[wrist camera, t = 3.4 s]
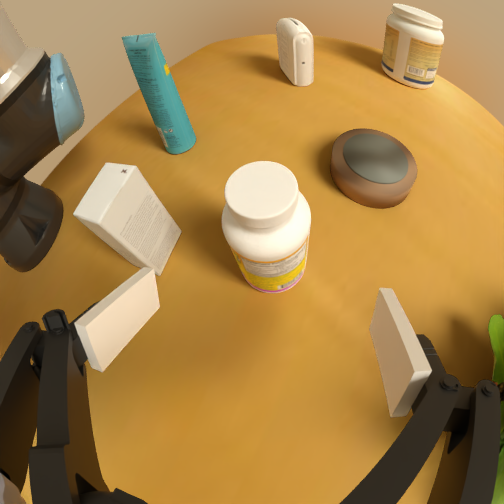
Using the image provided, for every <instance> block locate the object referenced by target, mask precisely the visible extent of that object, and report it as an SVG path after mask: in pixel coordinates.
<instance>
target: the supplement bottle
mask: <svg viewBox="0 0 504 504" xmlns="http://www.w3.org/2000/svg"><path fill="white" fill-rule="evenodd" d="M225 200H226V202H227V203H226V205H225V207H224V210H223V213H222V229H223V233H224V235H225V238H226V240H227V242H228V244H229V246H230V248H231V251H232V253H233V255H234V257H235V259H236V261H237V263H238V266H239V268H240V270H241V272H242V274H243V276H244V278H245V279H246V281H247V282H248V283H249V284H250V285H251V286H252V287H254V288H255V289H257V290H259V291H262V292H265V293H279V292H283V291H286V290H288V289H290V288H292V287H293V286H294V285H295V284H296V283H297V282H298V281H299V280H300V279H301V277H302V275H303V273H304V270H305V266H306V258H307V250H308V241H309V232H310V225H311V213H310V208H309V205H308V203H307V201H306V199H305V198H304V196H303V195H302V194H301V193H300V192H299V191H298V184H297V180H296V178H295V176H294V175H293V173H292V172H291V171H290V170H289V169H288V168H286V167H285V166H283V165H281V164H278V163H276V162H270V161H258V162H253V163H249V164H246V165H244V166H242V167H240V168H239V169H237V170H236V171H235V172H234V173H233V174H232V175H231V176H230V177H229V179H228V181H227V183H226V186H225Z"/></svg>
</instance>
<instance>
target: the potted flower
mask: <svg viewBox="0 0 504 504" xmlns="http://www.w3.org/2000/svg"><path fill="white" fill-rule="evenodd" d="M488 331H489V337H490V341H491V347H492V350H493V354H494V367H493V375H492V381H495V384H496V385H497V387H498V388H499V392H500V408H501V431H500V450H499V461H498V469H497V477H496V483H495V489H494V494H493V499H492V503H491V504H504V319H503V318H502V316H501V315H500V314H499V315H494V316H492V317H491V319H490V322H489V326H488Z"/></svg>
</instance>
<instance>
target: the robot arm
mask: <svg viewBox="0 0 504 504" xmlns="http://www.w3.org/2000/svg"><path fill="white" fill-rule="evenodd" d="M83 122H84V110H83V106H82V102H81V99H80V96H79V93H78V90H77V87H76V84H75V81H74V79H73V76H72V73H71V71H70V68H69V66H68V63H67V61H66V59H65V58H64V56H63V54H62V53H57V54H53V55H52V56H51V58H49V57H48V56H47V54H46V52H45V51H44V49H43V48H28V47H27V46H26V45H25V44H24V42H23V40H22V39H21V37H20V36H19V34H18V32H17V31H16V29H15V28H14V25H13V24H12V22H11V20H10V19H9V17H8V15H7V13H6V12H5V10H4V8H3V6H2V4H1V2H0V254H1V255H2V256H3V257H4V260H5V261H6V263H7V264H8V265H9V266H10V267H12V268H14V269H15V270H17V271H19V272H26V271H29V270H31V269H32V268H34V267H35V266H36V265H37V264H38V263H39V262H40V261H41V260H42V259H43V258H44V256H45V255H46V254H47V252H48V251H49V249H50V247H51V246H52V244H53V242H54V240H55V238H56V236H57V233H58V231H59V228H60V225H61V221H62V216H63V204H62V201H61V199H60V198H59V197H58V196H57V195H56V194H55V193H54V192H53V191H52V190H50V189H47V188H44V187H42V186H40V185H38V184H35V183H33V182H31V181H28V180H27V179H25V178H24V177H23V176H24V175H25V174H26V173H27V172H28V171H29V170H30V169H31V168H33V167H34V166H35V165H36V164H37V163H38V162H39V161H40V160H42V159H43V158H44V157H45V156H46V155H48V154H49V153H50V152H51V151H53V150H54V149H55V148H56V147H57V146H59V145H62V144H63V143H64V141H65V140H66V139H68V138H69V137H70V136H71V135H72V134H74V133H75V132H76V131H77V130H79V129H80V128H81V126H82V124H83ZM159 308H160V304H159V298H158V292H157V285H156V279H155V271H154V268H147V267H143V268H142V269H141V270H139V271H138V272H137V273H135V274H134V275H133V276H132V277H130V278H129V279H128V280H126V281H125V282H124V283H123V284H121V285H120V286H119V287H117V288H116V289H115V290H114V291H112V292H111V293H110V294H109V295H107V296H106V297H105V298H104V299H102V300H101V301H99V302H97V303H95V304H93V305H92V306H90V307H89V308H88V310H86V311H84V312H83V313H82V314H81V315H79V316H78V317H77V318H76V319H75V320H73V321H72V322H71V323H70V324H68V321H67V318H66V315H65V312H64V311H63V310H60V309H56V310H51V311H49V312H47V313H46V314H45V315H43V317H42V320H43V323H44V325H45V328H46V330H47V331H42V330H41V328H40V326H39V323H37V322H27V323H25V324H24V325H23V326H22V327H21V328H20V330H19V331H18V333H17V334H16V336H15V337H14V339H13V341H12V342H11V344H10V346H9V347H8V349H7V351H6V352H5V354H4V356H3V358H2V359H1V361H0V504H26V502H25V500H24V499H23V498H22V497H21V496H20V494H21V491H22V489H23V486H24V483H25V479H26V474H27V469H28V464H29V475H30V486H31V495H32V502H33V504H148V503H146V502H145V501H143V500H142V499H139V498H137V497H135V496H132V495H130V494H128V493H126V492H124V491H122V490H119V489H117V488H116V489H115V490H114V492H110V491H109V489H108V487H107V485H106V484H105V482H104V480H103V478H102V475H101V471H100V467H99V462H98V458H97V453H96V448H95V442H94V437H93V431H92V424H91V417H90V409H89V400H88V389H87V375H86V367H85V364H84V363H85V361H86V360H87V359H88V361H89V363H90V365H91V368H93V369H96V370H98V371H101V372H103V371H104V370H105V369H106V368H107V367H108V365H109V364H110V363H111V362H112V361H113V360H114V358H115V357H116V356H117V355H118V354H119V353H120V352H121V350H122V349H123V348H124V347H125V346H126V345H127V343H128V342H129V341H130V340H131V339H132V338H133V337H134V336H135V334H136V333H137V332H138V331H139V330H140V329H141V328H142V327H143V325H144V324H145V323H146V322H147V321H148V320H149V319H150V318H151V316H152V315H153V314H154V313H155V312H156V311H157V310H158V309H159ZM369 330H370V333H371V337H372V340H373V344H374V348H375V352H376V356H377V359H378V363H379V367H380V372H381V376H382V380H383V384H384V389H385V394H386V398H387V403H388V408H389V413H390V417H401V416H407V414H408V412H409V411H410V409H411V407H412V411H413V416H412V418H411V419H410V421H409V422H408V424H407V425H406V426H405V428H404V429H403V431H402V432H401V434H400V435H399V436H398V438H397V439H396V440H395V442H394V443H393V444H392V446H391V447H390V448H389V450H388V451H387V452H386V453H385V455H384V456H383V457H382V458H381V460H380V461H379V462H378V463H377V464H376V466H375V467H374V468H373V469H372V470H371V471H370V472H369V474H368V475H367V476H366V477H365V478H364V479H363V480H362V481H361V482H360V483H359V485H358V486H357V487H356V488H355V489H354V490H353V491H352V492H351V493H350V494H349V495H348V496H347V497H346V498H345V499H344V500H343V501H342V502H341V503H340V504H396V503H397V502H398V501H399V500H400V498H401V497H402V496H403V494H404V493H405V492H406V490H407V489H408V487H409V486H410V485H411V483H412V482H413V480H414V479H415V477H416V476H417V474H418V473H419V471H420V470H421V468H422V466H423V465H424V463H425V462H426V460H427V458H428V457H429V455H430V453H431V451H432V450H433V448H434V446H435V444H436V443H437V441H438V439H439V437H440V435H441V433H442V431H446V432H447V436H446V441H445V445H444V450H443V454H442V458H441V462H440V465H439V469H438V472H437V476H436V479H435V482H434V485H433V488H432V491H431V494H430V497H429V500H428V502H427V504H491V503H492V499H493V494H494V489H495V483H496V477H497V469H498V461H499V450H500V431H501V408H500V392H499V388H498V387H497V385H496V384H495V383H493V382H492V381H489V380H481V381H479V382H478V384H477V385H476V387H475V388H470V387H463V386H461V384H460V382H459V381H458V379H457V378H456V377H454V376H452V375H449V374H446V372H445V369H444V367H443V365H442V363H441V361H440V359H439V357H438V355H437V353H436V351H435V349H434V347H433V345H432V343H431V341H430V340H429V339H428V338H427V337H426V336H425V335H424V334H421V335H416V334H415V332H414V330H413V328H412V326H411V324H410V322H409V320H408V318H407V316H406V314H405V312H404V310H403V308H402V306H401V304H400V303H399V301H398V299H397V297H396V295H395V293H394V291H393V290H392V288H379V292H378V296H377V301H376V305H375V309H374V313H373V317H372V321H371V325H370V328H369ZM31 358H32V360H33V362H34V363H33V365H31V364H30V359H31ZM36 428H37V446H36V447H32V444H33V440H34V436H35V432H36Z"/></svg>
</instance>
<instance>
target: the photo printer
mask: <svg viewBox="0 0 504 504" xmlns="http://www.w3.org/2000/svg"><path fill="white" fill-rule="evenodd" d="M276 31H277V42H278V53H279V64H280V67H281V69H282V71H283V72H284V73H285V75H286V76H287V77H288V79H289V80H290V81H291V82H292V83H293V84H294V85H297V86H301V87H303V86H308V85H310V84H311V83H313V37H312V34H311V33H310V31H309V30H308V29H307V27H305V25H304V24H302V23H301V22H299V21H298V20H296V19H293V18H282V19H280V20H279V21H278V22H277V25H276Z"/></svg>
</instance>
